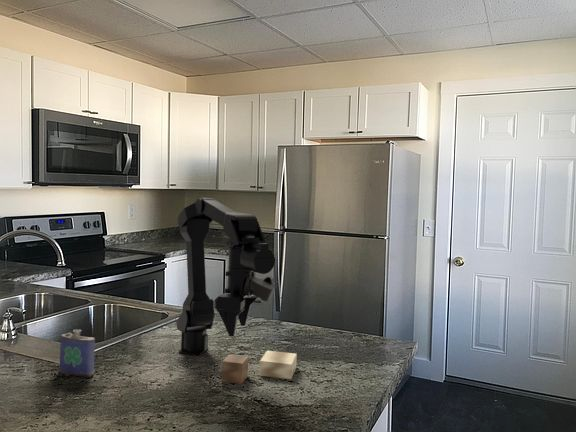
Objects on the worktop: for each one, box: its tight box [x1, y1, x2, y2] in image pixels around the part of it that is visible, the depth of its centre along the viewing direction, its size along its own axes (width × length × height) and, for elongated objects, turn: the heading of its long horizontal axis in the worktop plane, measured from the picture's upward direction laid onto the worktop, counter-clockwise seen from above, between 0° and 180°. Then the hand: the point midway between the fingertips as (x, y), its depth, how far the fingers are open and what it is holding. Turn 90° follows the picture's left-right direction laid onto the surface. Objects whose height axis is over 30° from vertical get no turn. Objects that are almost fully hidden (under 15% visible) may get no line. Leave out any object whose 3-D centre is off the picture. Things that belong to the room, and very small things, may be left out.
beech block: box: [258, 350, 298, 380], centre depth 125 cm, size 8×8×4 cm
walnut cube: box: [221, 354, 249, 385], centre depth 119 cm, size 5×5×5 cm
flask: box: [58, 329, 96, 378], centre depth 117 cm, size 9×3×11 cm, turn 74°
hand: (237, 330), depth 118 cm, fingers open, 9 cm apart
